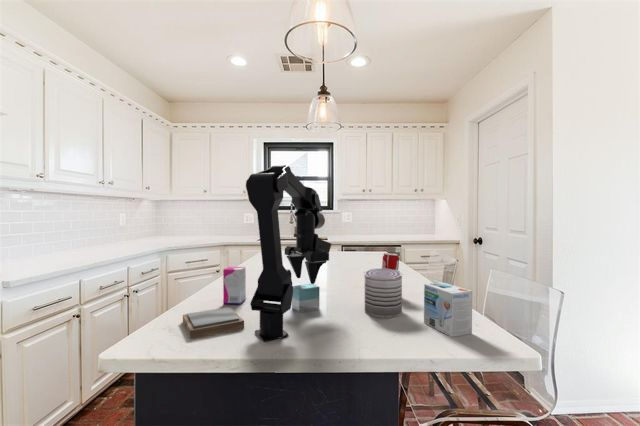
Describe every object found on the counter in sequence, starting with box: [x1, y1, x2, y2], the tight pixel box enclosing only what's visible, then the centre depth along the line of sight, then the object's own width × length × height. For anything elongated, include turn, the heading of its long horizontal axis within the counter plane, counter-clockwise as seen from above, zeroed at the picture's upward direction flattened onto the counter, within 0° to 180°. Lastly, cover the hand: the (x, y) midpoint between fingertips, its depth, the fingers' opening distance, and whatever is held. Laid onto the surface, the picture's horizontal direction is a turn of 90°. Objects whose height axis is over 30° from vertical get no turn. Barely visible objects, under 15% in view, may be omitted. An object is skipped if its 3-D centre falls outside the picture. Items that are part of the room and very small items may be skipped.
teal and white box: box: [291, 283, 320, 314], centre depth 99 cm, size 7×5×7 cm
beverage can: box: [381, 252, 400, 271], centre depth 114 cm, size 6×6×15 cm
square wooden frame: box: [182, 306, 245, 340], centre depth 85 cm, size 13×13×2 cm
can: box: [363, 267, 404, 318], centre depth 97 cm, size 11×11×12 cm
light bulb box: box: [423, 281, 473, 338], centre depth 83 cm, size 11×7×11 cm, turn 21°
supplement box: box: [222, 266, 247, 306], centre depth 106 cm, size 6×6×12 cm
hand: (305, 280), depth 99 cm, fingers open, 9 cm apart
